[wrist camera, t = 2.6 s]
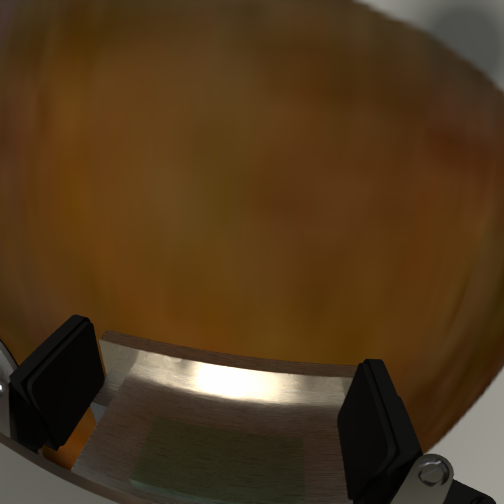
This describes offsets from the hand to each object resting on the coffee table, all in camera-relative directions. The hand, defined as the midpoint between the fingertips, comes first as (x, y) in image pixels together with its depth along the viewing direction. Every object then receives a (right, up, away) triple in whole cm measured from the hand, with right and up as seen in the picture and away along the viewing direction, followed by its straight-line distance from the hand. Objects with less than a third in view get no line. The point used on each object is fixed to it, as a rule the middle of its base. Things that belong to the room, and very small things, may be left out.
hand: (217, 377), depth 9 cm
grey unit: (0, -8, +13) cm, 16 cm away
